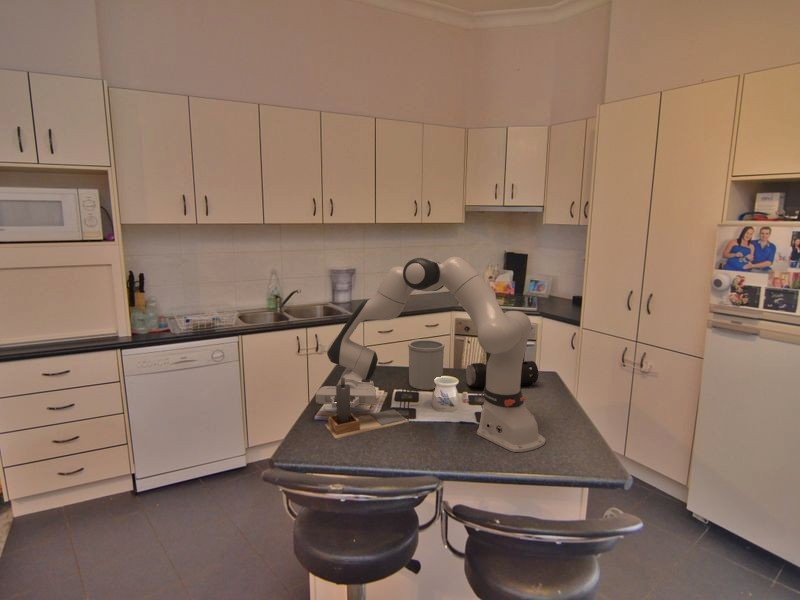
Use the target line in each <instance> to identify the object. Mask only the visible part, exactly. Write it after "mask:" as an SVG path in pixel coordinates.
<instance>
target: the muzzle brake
mask: <svg viewBox="0 0 800 600" xmlns="http://www.w3.org/2000/svg"><path fill="white" fill-rule="evenodd" d="M486 369H487V363H483V362H475V363H474V362H473V363H471V364H469V365H467V366H466V369H465V377H466V378H465V379H466V383H467V385H468V386H473V387H475V388H479V387H480V388H481V387H482V388H483V389H484V387H485V386H486ZM538 378H539V369H538V364H537V363H536V362H535V361H534V360H527V361H526V360H525V361H524V360H523V363H522V370H521V384H520V386H526V385H527V386H528V385H530V386H531V385H533V384H535V383H537V381H538Z"/></svg>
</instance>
